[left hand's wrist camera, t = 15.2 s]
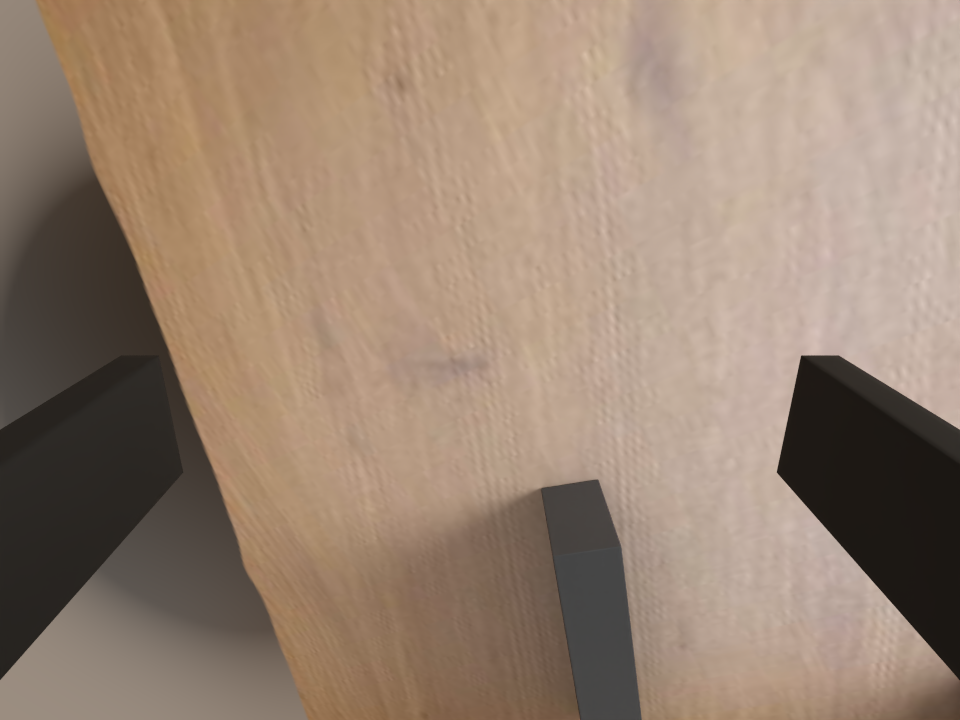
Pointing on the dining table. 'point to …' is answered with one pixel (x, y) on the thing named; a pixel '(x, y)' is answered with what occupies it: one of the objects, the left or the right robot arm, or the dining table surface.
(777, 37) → the dining table surface
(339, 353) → the dining table surface
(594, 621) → the bar
